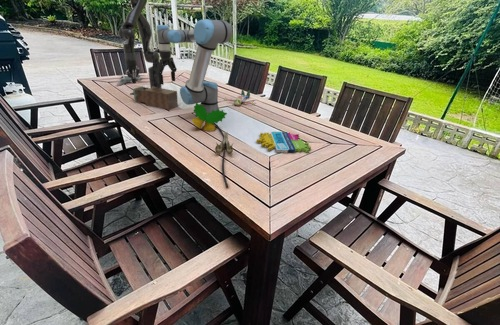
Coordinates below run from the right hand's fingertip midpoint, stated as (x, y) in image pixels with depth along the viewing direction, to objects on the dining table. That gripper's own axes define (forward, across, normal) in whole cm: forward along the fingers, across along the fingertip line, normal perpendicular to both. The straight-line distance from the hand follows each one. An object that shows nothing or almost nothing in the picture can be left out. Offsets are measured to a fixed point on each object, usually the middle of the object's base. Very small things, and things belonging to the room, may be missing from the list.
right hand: (167, 82), depth 187 cm
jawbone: (+18, +46, +68) cm, 85 cm away
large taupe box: (+18, 0, -7) cm, 20 cm away
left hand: (+5, 0, -31) cm, 31 cm away
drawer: (+17, 0, -21) cm, 27 cm away
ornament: (+18, +22, +46) cm, 54 cm away
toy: (+18, -44, +40) cm, 62 cm away
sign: (+18, +21, +93) cm, 97 cm away
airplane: (+18, -46, -79) cm, 93 cm away
